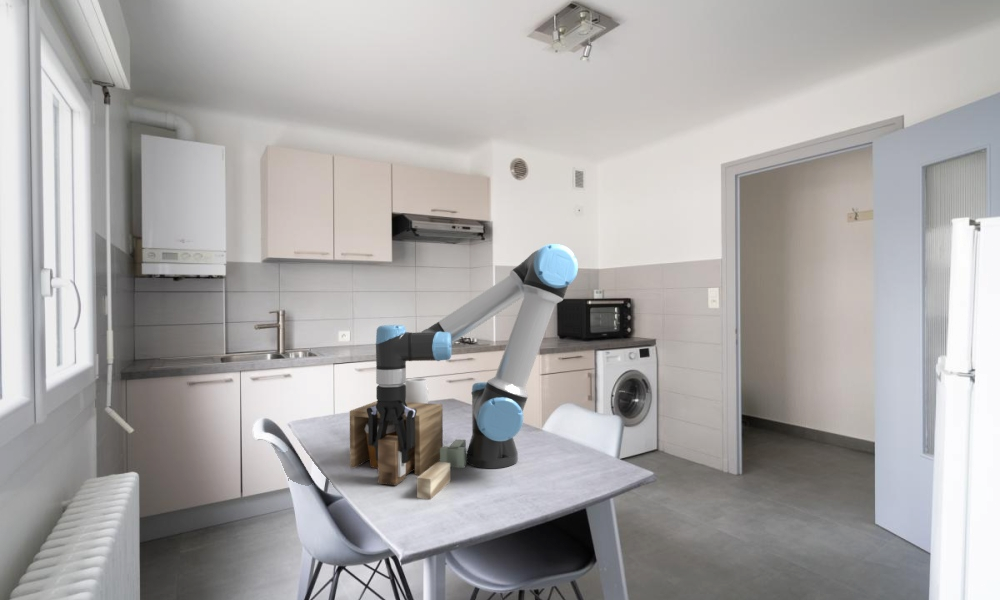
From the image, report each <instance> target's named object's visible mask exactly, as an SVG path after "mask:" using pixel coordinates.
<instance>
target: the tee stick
mask: <svg viewBox="0 0 1000 600" xmlns="http://www.w3.org/2000/svg"><path fill="white" fill-rule="evenodd" d="M466 443H467V441H466V439H461V438H460V439H457V438H456V439H455V440H454V441H453V442H452V443H451V444H450V445H449V446H444V445H443V446H442V447H441V448H440V460H439V462H446V463H450V468H463V469H464V468H465V467H466V466H467V447H466V445H467V444H466Z"/></svg>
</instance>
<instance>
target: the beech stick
mask: <svg viewBox="0 0 1000 600" xmlns="http://www.w3.org/2000/svg"><path fill="white" fill-rule="evenodd" d="M450 482H451V467H450V463H446V462H440V461H438V462H436V463H435V464H434V465H432V466H431V467H430V468H428V469H427V470H426V471H424V472H423V473H422V474H420V475H418V476H417V477H416V492H417V494H416V497H417V499H422V500H423V499H424V500H432V499H433V498H434V497H435V496H436V495H437V494H438V493H439V492H441V491H442V489H444V488H445V487H446V486H447V485H448V484H449V483H450Z"/></svg>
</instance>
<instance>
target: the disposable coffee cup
mask: <svg viewBox="0 0 1000 600" xmlns="http://www.w3.org/2000/svg"><path fill="white" fill-rule="evenodd" d="M368 424H369V422H368V423H366V427H365V428H364V430H365V432H366V435H367V443H368ZM378 428H379V420H378V425H377V433H378ZM388 435H392V436H396V428H395V425H394V424H393V421H389V422H388V426H387V431H386V435H385V437H386V436H388ZM368 451H369V458H370V459H369V464H370V467H371V468H373V469H378V461H376V451H375V447H374V446H370V445H369V444H368Z"/></svg>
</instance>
